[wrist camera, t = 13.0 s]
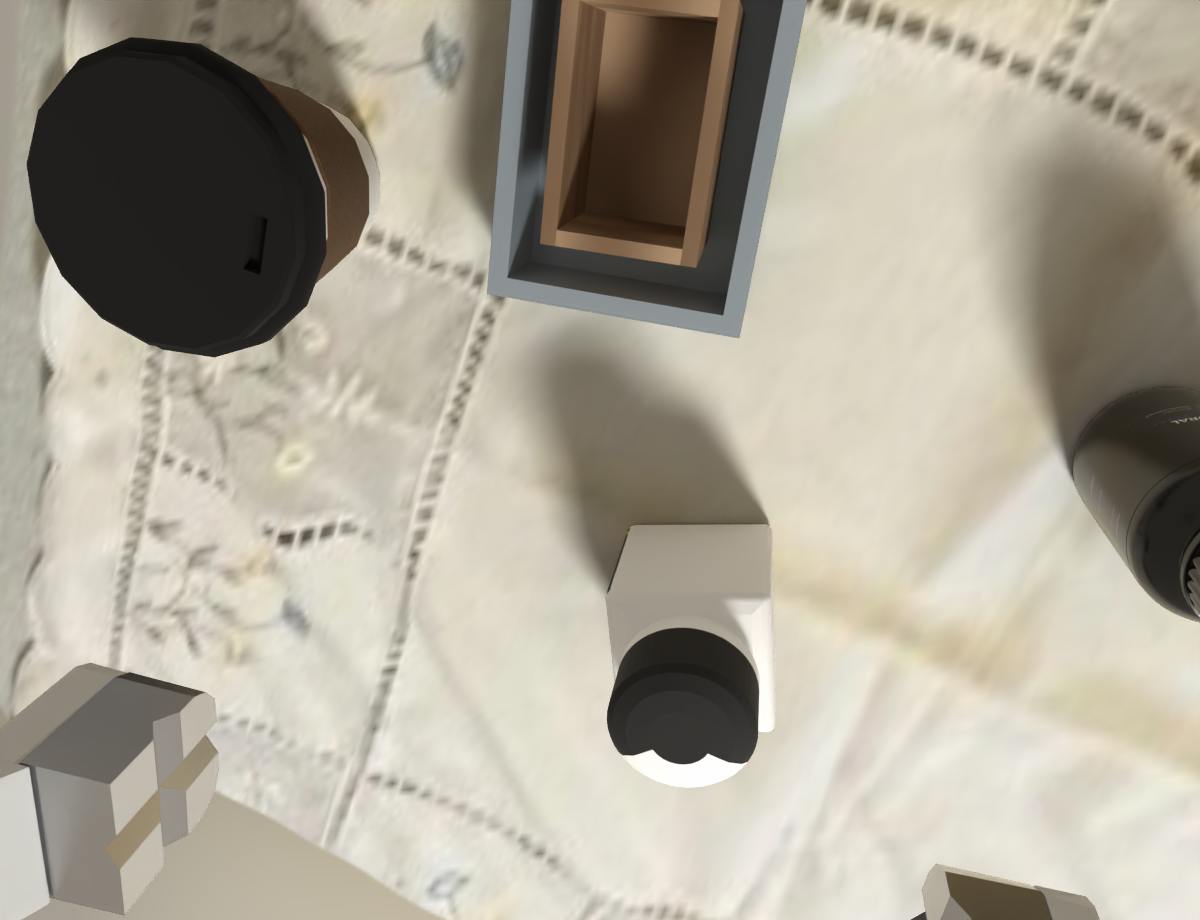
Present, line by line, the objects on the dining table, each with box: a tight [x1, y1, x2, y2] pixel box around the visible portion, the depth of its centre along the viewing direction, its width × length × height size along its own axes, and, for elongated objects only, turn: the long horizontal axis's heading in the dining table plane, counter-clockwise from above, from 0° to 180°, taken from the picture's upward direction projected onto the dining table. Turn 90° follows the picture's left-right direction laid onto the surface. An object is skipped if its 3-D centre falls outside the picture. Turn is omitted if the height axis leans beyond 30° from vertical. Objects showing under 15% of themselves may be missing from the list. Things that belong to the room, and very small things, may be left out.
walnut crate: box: [540, 0, 745, 268], centre depth 35 cm, size 6×9×6 cm, turn 174°
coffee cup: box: [27, 38, 380, 357], centre depth 37 cm, size 11×11×12 cm
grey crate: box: [487, 0, 807, 338], centre depth 37 cm, size 11×14×4 cm
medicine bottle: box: [606, 524, 775, 787], centre depth 41 cm, size 7×7×12 cm
